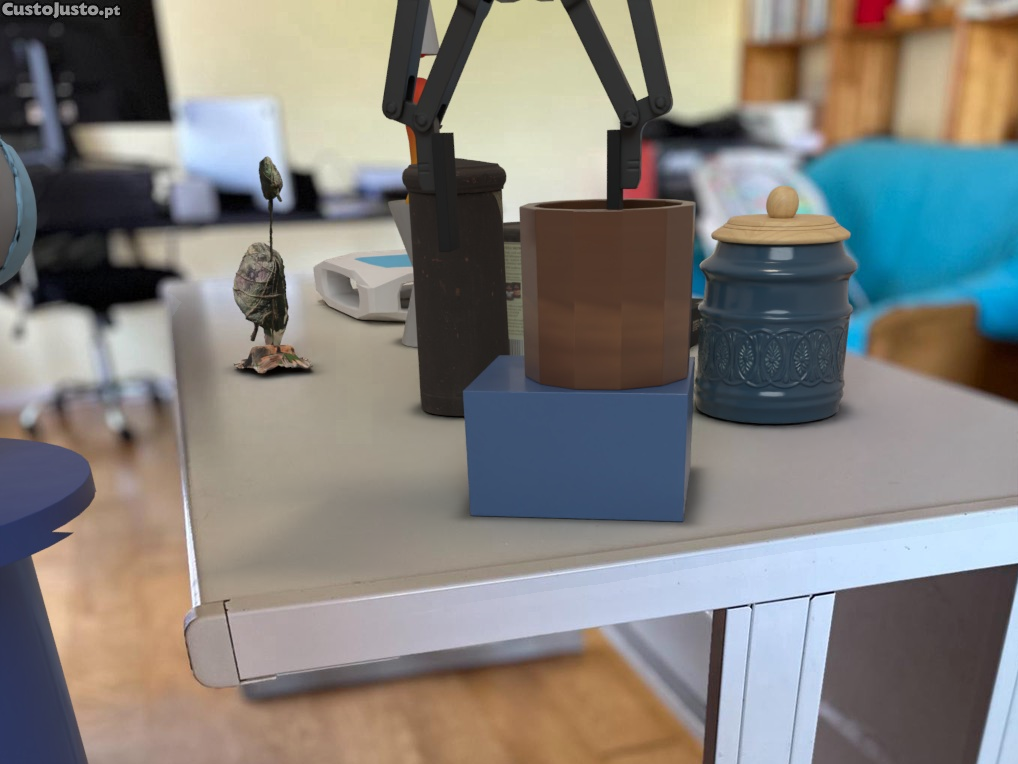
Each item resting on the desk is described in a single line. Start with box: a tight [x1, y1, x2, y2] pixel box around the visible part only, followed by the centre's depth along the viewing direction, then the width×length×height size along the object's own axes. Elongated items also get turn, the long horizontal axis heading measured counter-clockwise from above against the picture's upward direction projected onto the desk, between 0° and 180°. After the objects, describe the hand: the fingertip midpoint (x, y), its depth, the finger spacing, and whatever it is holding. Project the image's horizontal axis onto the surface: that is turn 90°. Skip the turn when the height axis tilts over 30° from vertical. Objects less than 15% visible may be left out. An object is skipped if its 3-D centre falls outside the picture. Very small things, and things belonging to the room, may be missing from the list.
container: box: [401, 157, 510, 417], centre depth 94 cm, size 9×9×20 cm
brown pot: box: [518, 198, 697, 390], centre depth 69 cm, size 11×11×10 cm
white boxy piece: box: [312, 248, 414, 323], centre depth 153 cm, size 21×28×6 cm
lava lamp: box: [387, 0, 440, 348], centre depth 121 cm, size 9×9×35 cm
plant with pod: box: [232, 156, 314, 374], centre depth 112 cm, size 8×11×20 cm
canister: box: [694, 185, 859, 425], centre depth 92 cm, size 13×13×18 cm
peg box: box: [463, 355, 696, 523], centre depth 73 cm, size 14×12×12 cm
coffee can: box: [503, 221, 524, 355], centre depth 106 cm, size 10×10×14 cm
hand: (531, 249), depth 69 cm, fingers open, 10 cm apart
